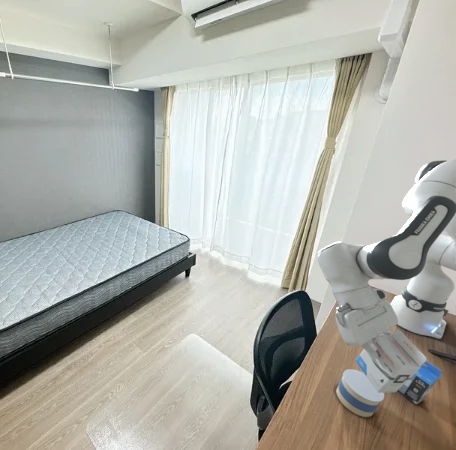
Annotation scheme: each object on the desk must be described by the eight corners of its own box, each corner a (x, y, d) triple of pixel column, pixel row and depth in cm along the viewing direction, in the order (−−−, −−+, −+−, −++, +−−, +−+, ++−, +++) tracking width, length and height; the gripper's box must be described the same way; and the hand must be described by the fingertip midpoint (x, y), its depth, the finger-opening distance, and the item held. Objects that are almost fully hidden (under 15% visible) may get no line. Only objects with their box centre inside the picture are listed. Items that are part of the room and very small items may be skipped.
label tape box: (381, 377, 78) (397, 349, 74) (389, 373, 80) (405, 346, 75) (415, 405, 71) (436, 376, 66) (423, 400, 72) (444, 371, 67)
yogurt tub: (346, 380, 77) (354, 364, 74) (381, 409, 69) (391, 393, 67) (328, 392, 73) (336, 376, 71) (363, 423, 66) (373, 407, 63)
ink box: (354, 360, 70) (378, 327, 62) (371, 360, 70) (397, 327, 62) (377, 393, 62) (407, 359, 55) (396, 393, 62) (429, 360, 55)
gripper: (345, 308, 61) (376, 368, 56) (387, 289, 69) (417, 340, 65) (322, 310, 66) (348, 366, 62) (363, 292, 74) (389, 340, 70)
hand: (384, 352), depth 63 cm, fingers closed on ink box, 6 cm apart
